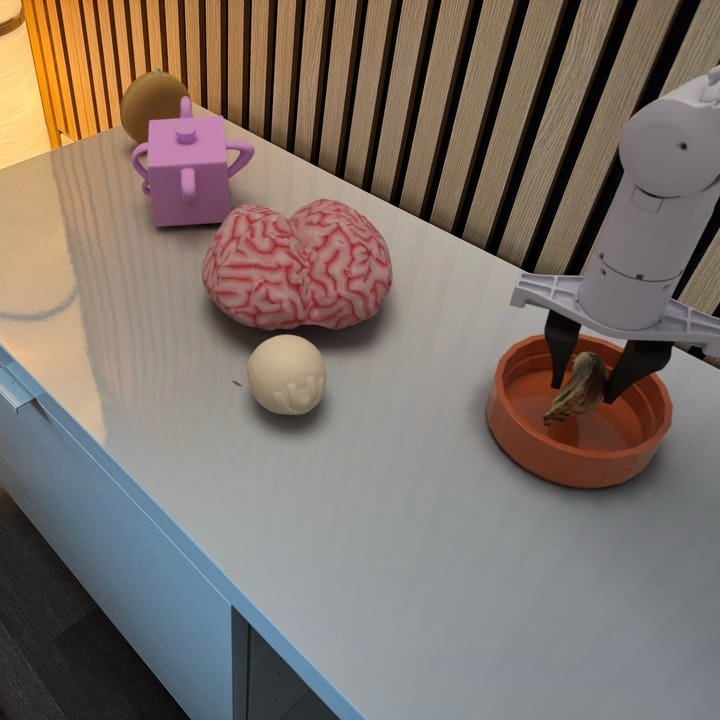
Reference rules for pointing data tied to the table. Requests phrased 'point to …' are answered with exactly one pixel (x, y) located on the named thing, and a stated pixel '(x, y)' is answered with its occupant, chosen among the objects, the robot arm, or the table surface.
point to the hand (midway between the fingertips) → (582, 387)
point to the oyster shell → (580, 389)
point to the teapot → (189, 168)
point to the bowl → (575, 418)
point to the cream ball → (287, 375)
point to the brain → (298, 267)
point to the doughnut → (151, 102)
